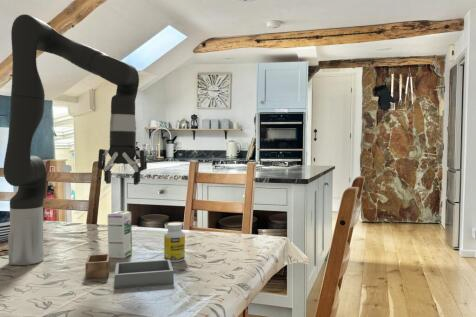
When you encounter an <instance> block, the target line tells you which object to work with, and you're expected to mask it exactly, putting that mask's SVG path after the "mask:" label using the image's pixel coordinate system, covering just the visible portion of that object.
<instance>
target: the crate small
mask: <svg viewBox="0 0 476 317" xmlns="http://www.w3.org/2000/svg"><path fill="white" fill-rule="evenodd" d="M110 270H111V258H110V254H108V253H99V254H88V256H87V258H86V261H85V280H93V279H97V280H98V279H106V278H107V279H109V277H110V272H111V271H110Z"/></svg>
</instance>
